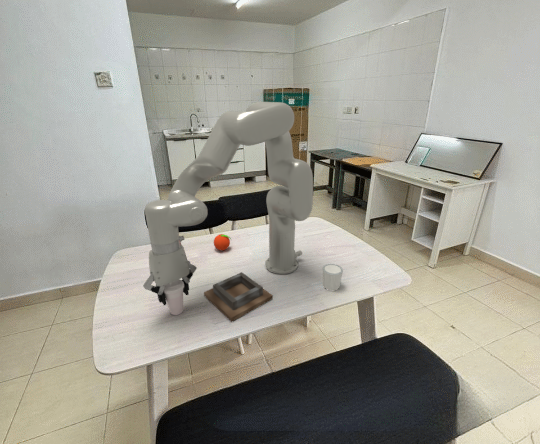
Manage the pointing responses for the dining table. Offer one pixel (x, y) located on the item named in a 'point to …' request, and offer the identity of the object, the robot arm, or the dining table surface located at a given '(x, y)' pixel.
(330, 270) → the shot glass
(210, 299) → the socket block
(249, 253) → the dining table surface
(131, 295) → the dining table surface
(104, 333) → the dining table surface
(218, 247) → the clementine
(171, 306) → the smoothie
